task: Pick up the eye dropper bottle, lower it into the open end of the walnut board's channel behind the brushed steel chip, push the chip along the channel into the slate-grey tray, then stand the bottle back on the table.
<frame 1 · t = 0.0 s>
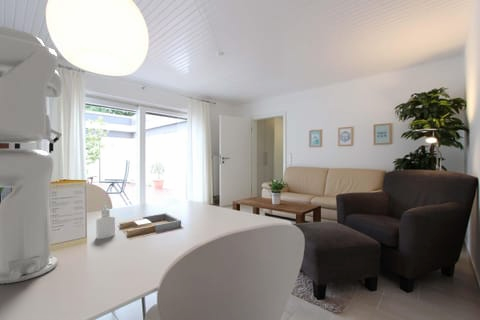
hand: (35, 152, 93), 31 cm above the table, tool pointing down, fingers open, 9 cm apart
eye dropper bottle: (105, 239, 82), on the table
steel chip: (142, 228, 91), point 1 cm above the table, touching slotted board
slotted board: (150, 229, 92), on the table
grey tray: (161, 226, 95), resting on slotted board
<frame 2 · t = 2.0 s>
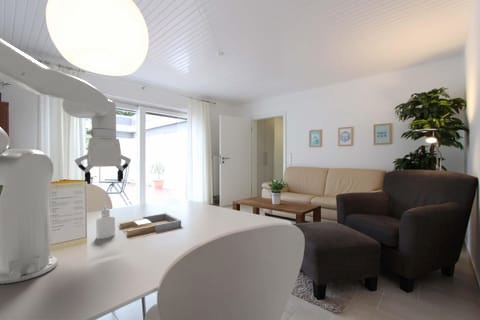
hand: (104, 182, 81), 20 cm above the table, tool pointing down, fingers open, 9 cm apart
nothing on the table moved.
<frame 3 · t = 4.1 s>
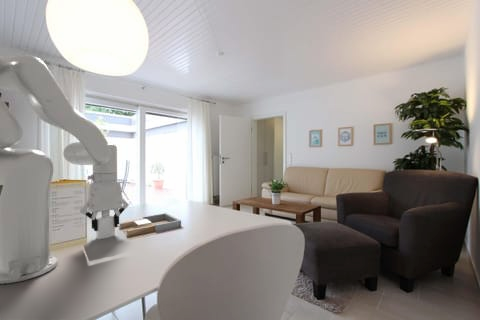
hand: (105, 227, 81), 4 cm above the table, tool pointing down, fingers closed on eye dropper bottle, 5 cm apart
eye dropper bottle: (105, 239, 82), on the table, touching gripper
everything else where it was.
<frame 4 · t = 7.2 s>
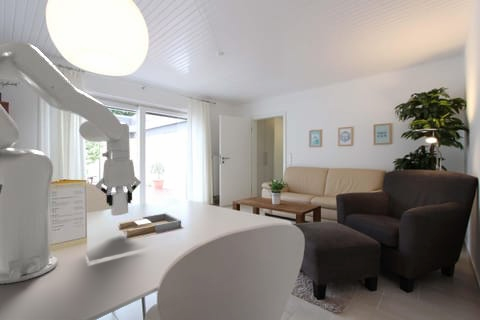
hand: (119, 203, 85), 12 cm above the table, tool pointing down, fingers closed on eye dropper bottle, 5 cm apart
eye dropper bottle: (119, 214, 85), point 8 cm above the table, touching gripper
everything else where it was.
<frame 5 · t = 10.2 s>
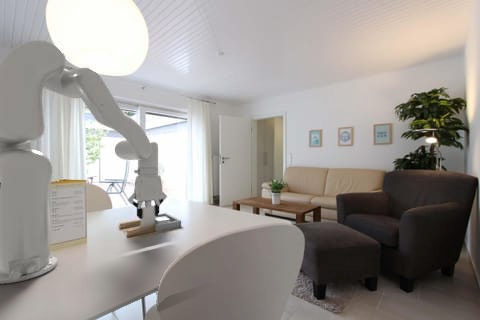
hand: (148, 216, 92), 5 cm above the table, tool pointing down, fingers closed on eye dropper bottle, 5 cm apart
eye dropper bottle: (148, 226, 92), point 1 cm above the table, touching gripper, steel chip
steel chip: (161, 224, 95), point 1 cm above the table, touching eye dropper bottle, slotted board
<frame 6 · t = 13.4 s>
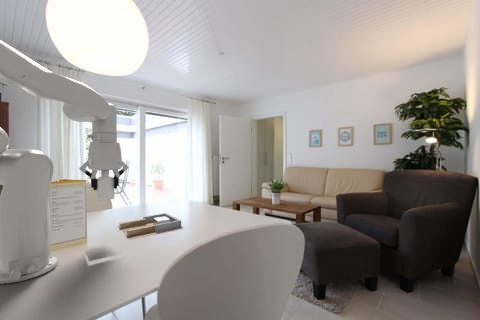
hand: (105, 188, 81), 18 cm above the table, tool pointing down, fingers closed on eye dropper bottle, 5 cm apart
eye dropper bottle: (105, 200, 81), point 14 cm above the table, touching gripper
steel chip: (161, 224, 95), point 1 cm above the table, touching slotted board
when the fingers open (5 cm above the table, at t = 16.0 s): eye dropper bottle drops 1 cm, on the table.
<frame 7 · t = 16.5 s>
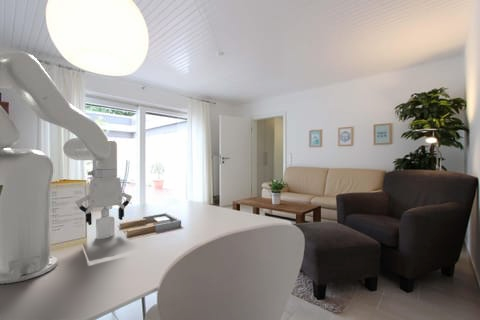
hand: (105, 221, 81), 6 cm above the table, tool pointing down, fingers open, 9 cm apart
eye dropper bottle: (105, 239, 81), on the table
everything else where it was.
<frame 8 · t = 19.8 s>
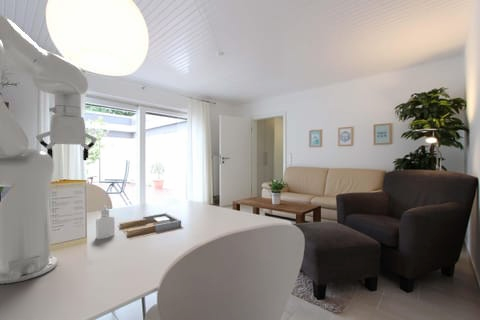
hand: (68, 160, 82), 28 cm above the table, tool pointing down, fingers open, 9 cm apart
nothing on the table moved.
at the end: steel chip inside the target area on the grey tray (0.4 cm from its centre), point 1.0 cm above the grey tray's base; eye dropper bottle tilted 0°; the gripper is holding nothing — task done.
